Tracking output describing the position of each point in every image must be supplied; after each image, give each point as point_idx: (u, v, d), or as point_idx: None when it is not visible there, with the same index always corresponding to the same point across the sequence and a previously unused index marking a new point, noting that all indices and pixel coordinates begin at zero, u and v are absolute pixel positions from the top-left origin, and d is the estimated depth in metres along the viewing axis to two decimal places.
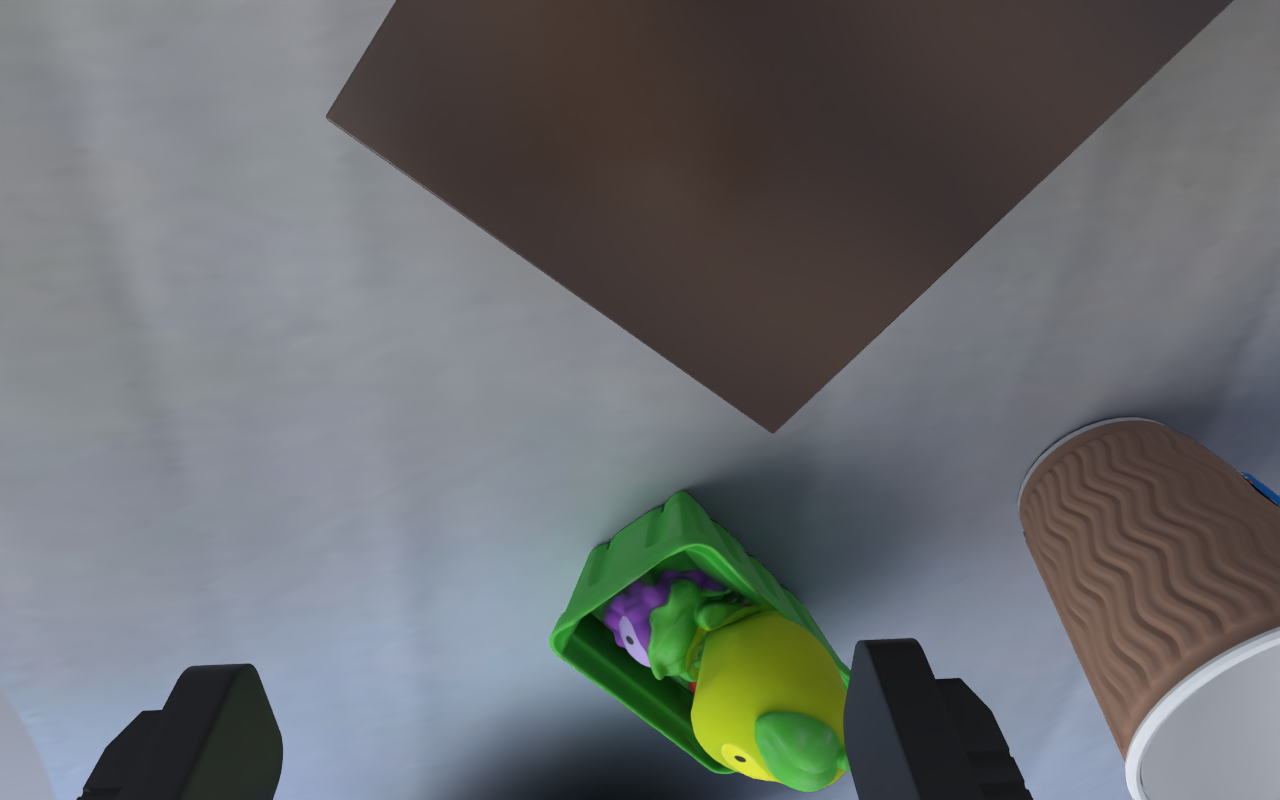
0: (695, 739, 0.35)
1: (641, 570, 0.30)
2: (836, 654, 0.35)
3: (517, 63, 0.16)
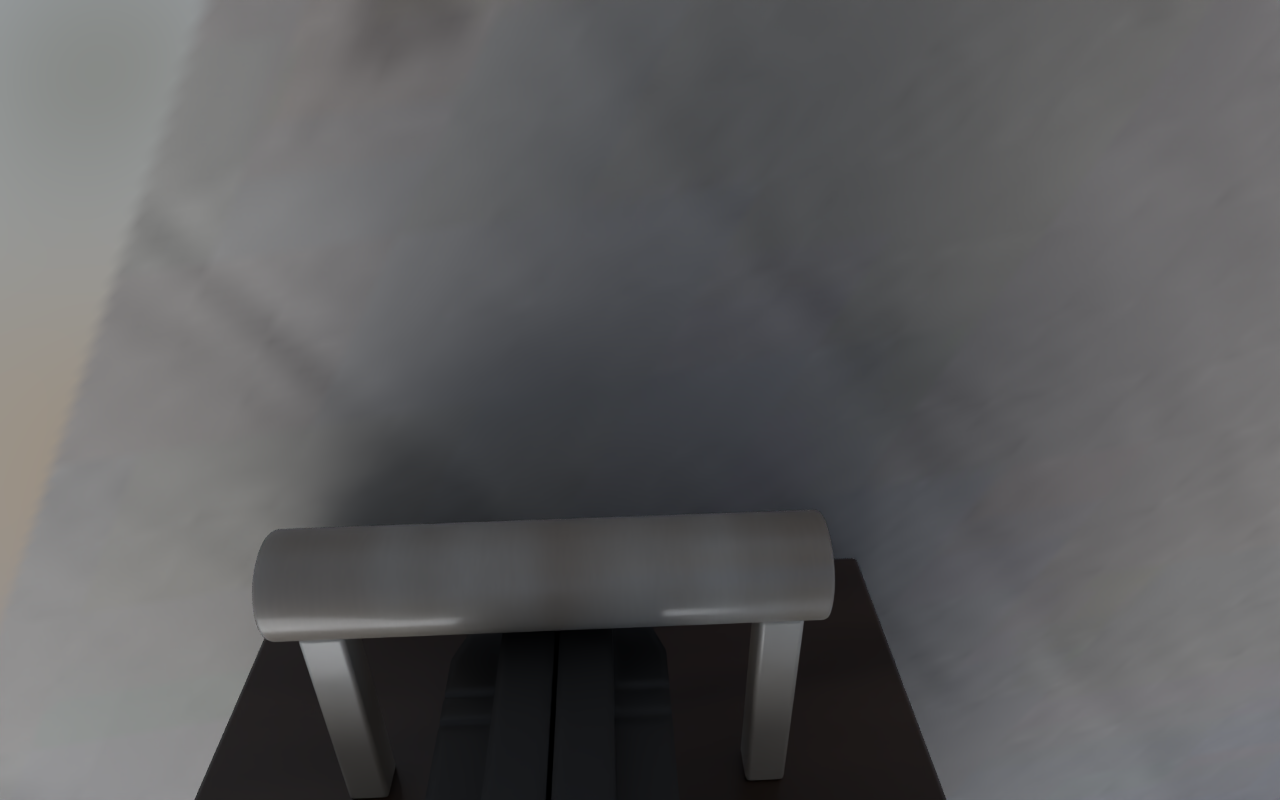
0: None
1: None
2: None
3: None
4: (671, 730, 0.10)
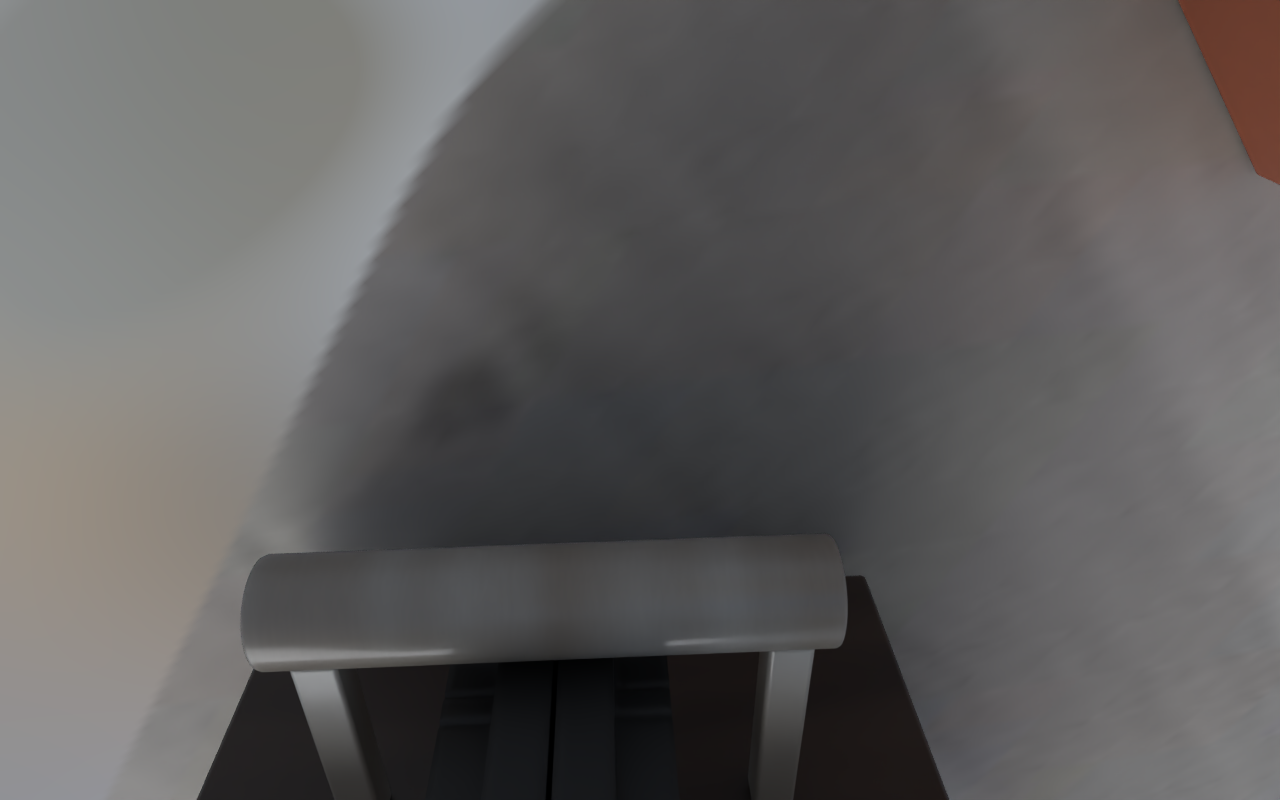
0: None
1: None
2: None
3: None
4: (671, 730, 0.10)
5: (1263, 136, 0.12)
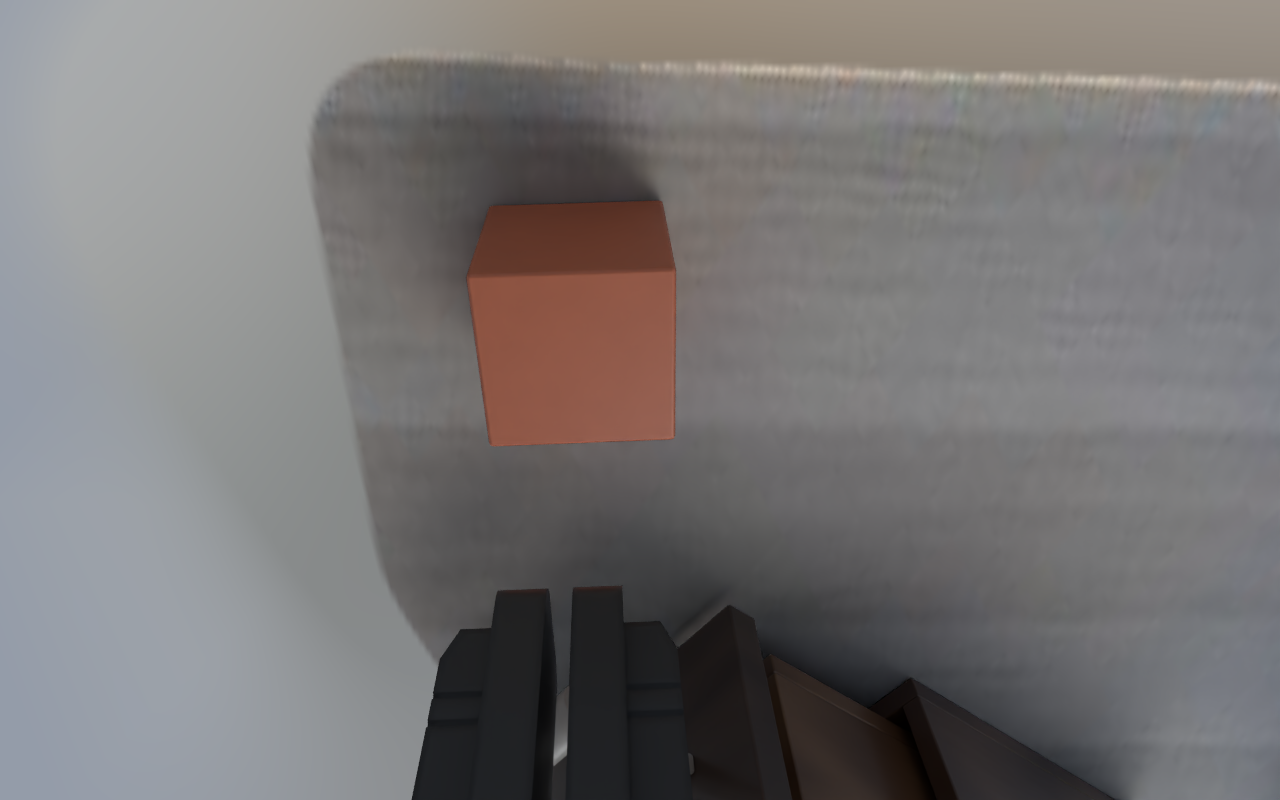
0: None
1: None
2: None
3: None
4: (683, 729, 0.10)
5: None
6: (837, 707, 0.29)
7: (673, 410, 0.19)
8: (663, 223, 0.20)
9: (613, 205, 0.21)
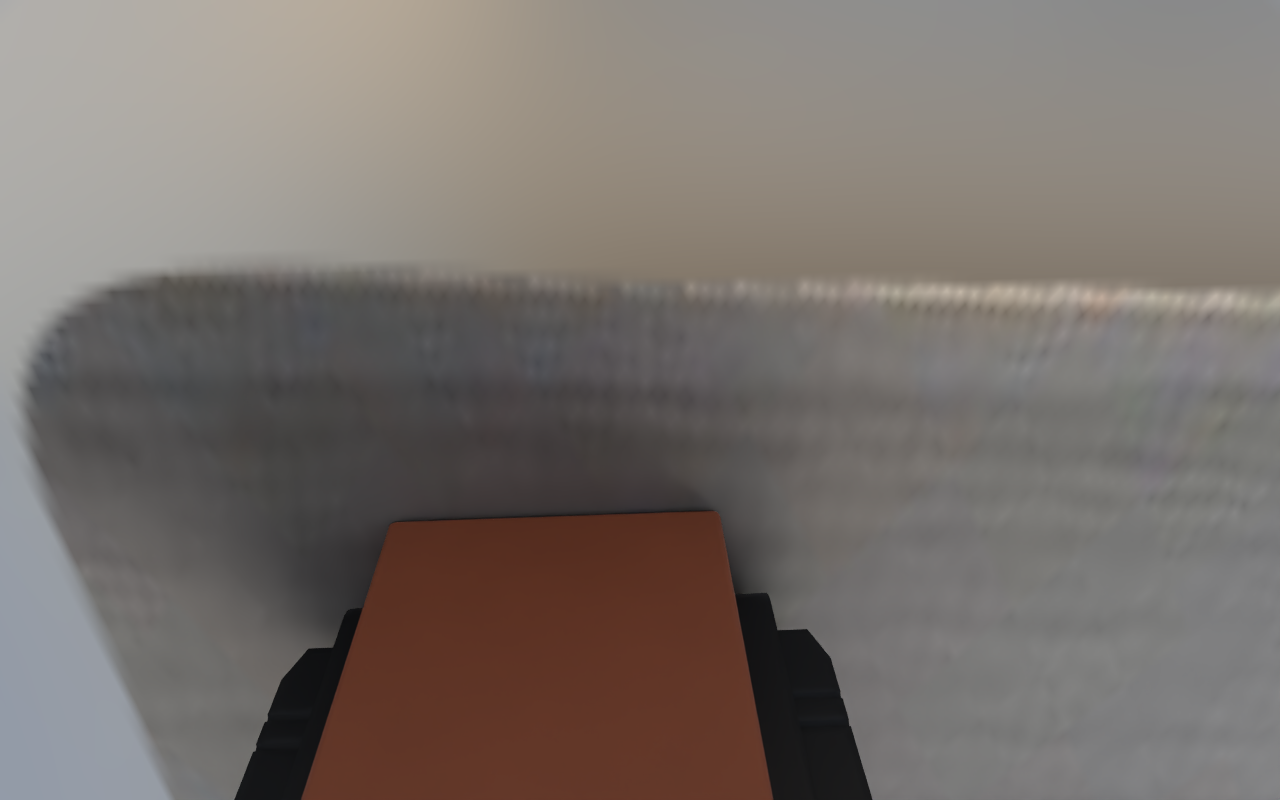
0: None
1: None
2: None
3: None
4: (853, 739, 0.10)
5: None
6: None
7: None
8: (730, 602, 0.10)
9: (627, 528, 0.11)
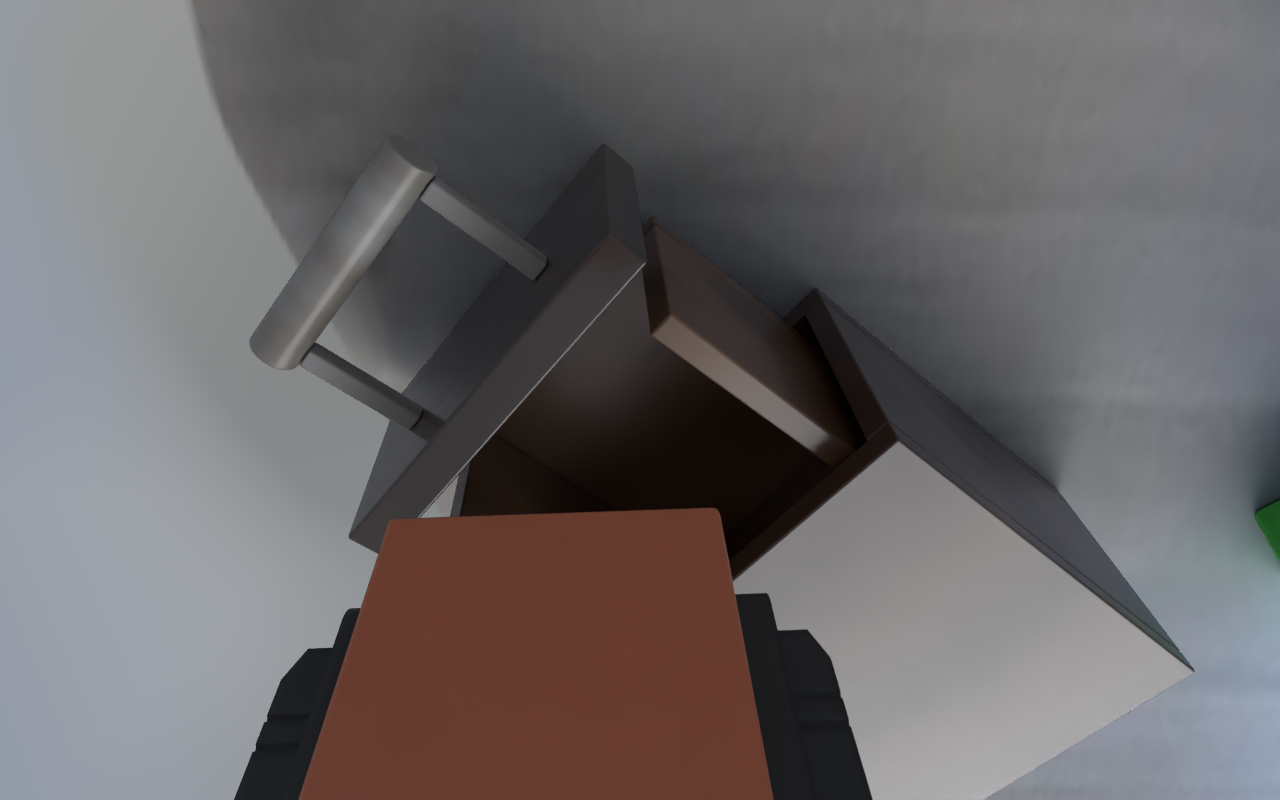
0: None
1: None
2: None
3: (886, 792, 0.29)
4: (853, 740, 0.10)
5: None
6: (726, 282, 0.26)
7: None
8: (729, 599, 0.10)
9: (626, 525, 0.11)
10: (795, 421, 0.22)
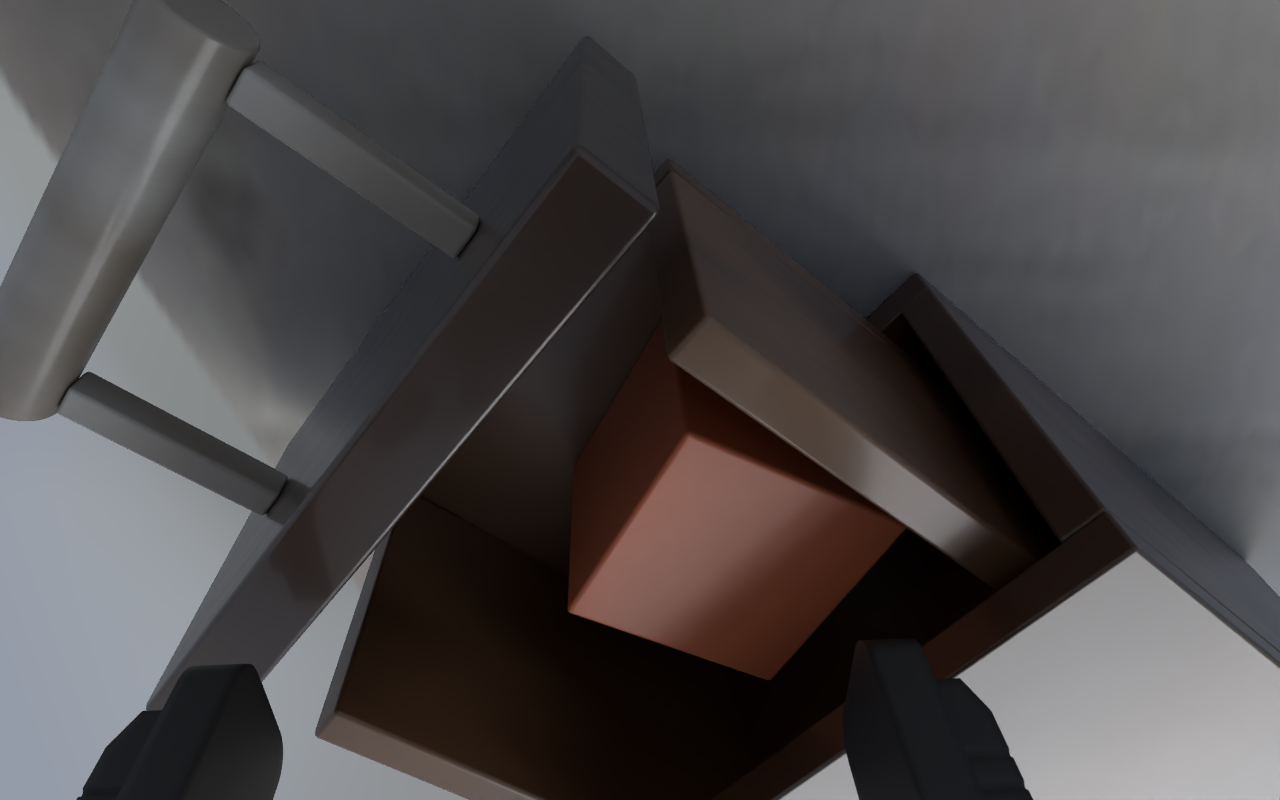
0: None
1: None
2: None
3: None
4: None
5: None
6: (788, 265, 0.16)
7: None
8: None
9: None
10: (934, 511, 0.12)
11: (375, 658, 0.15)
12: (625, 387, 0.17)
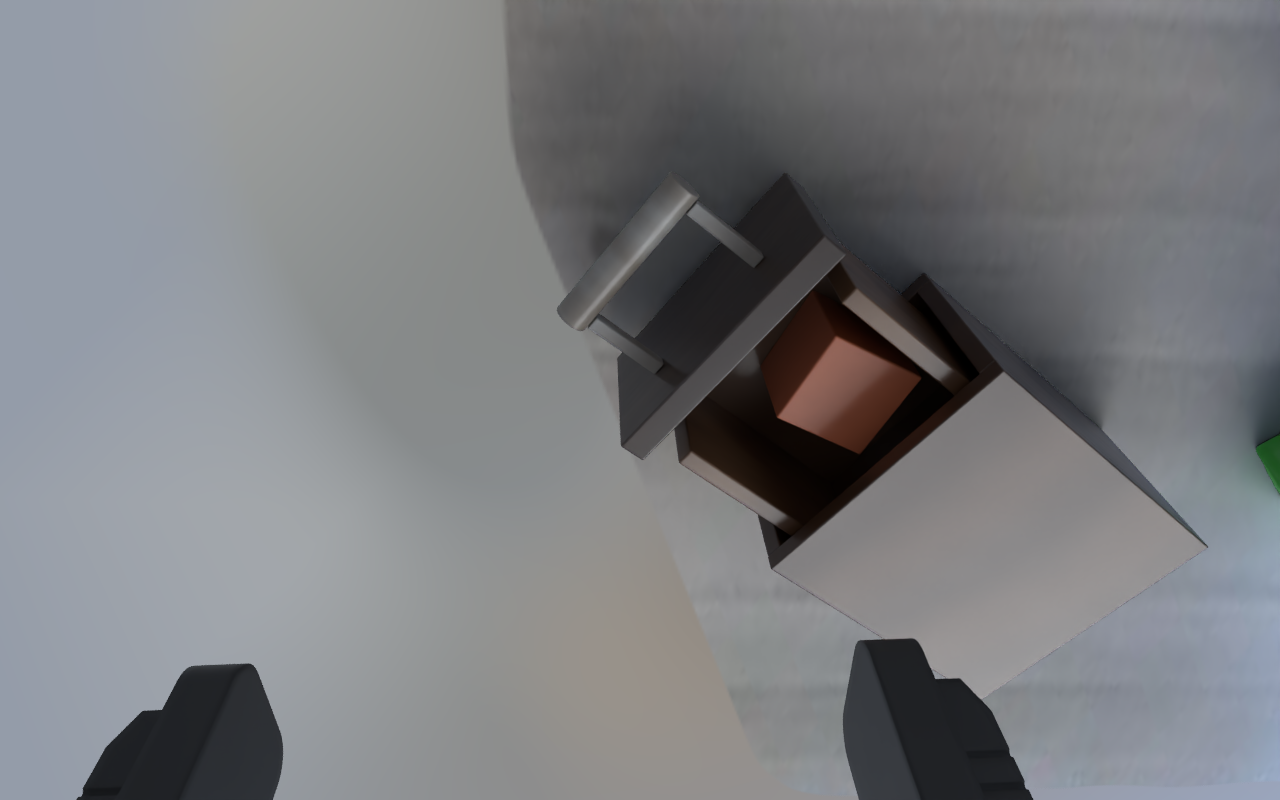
0: None
1: None
2: None
3: (978, 646, 0.39)
4: None
5: None
6: (867, 270, 0.37)
7: None
8: (844, 306, 0.37)
9: (825, 304, 0.36)
10: (932, 361, 0.32)
11: (695, 437, 0.35)
12: (791, 325, 0.38)
